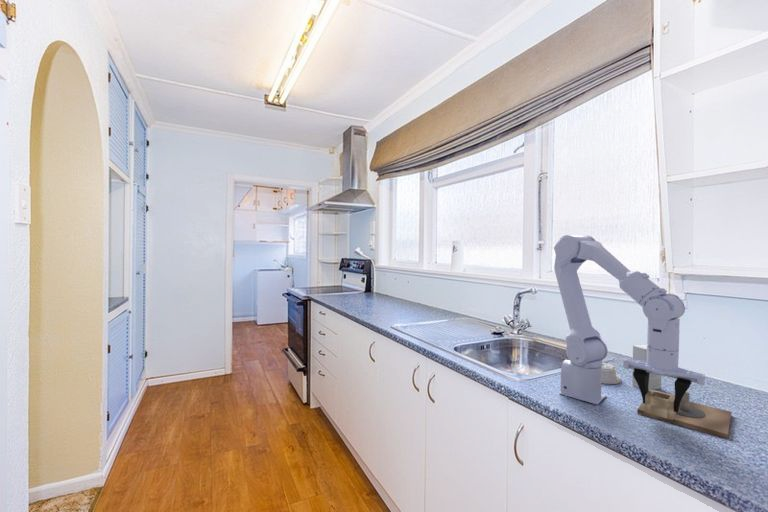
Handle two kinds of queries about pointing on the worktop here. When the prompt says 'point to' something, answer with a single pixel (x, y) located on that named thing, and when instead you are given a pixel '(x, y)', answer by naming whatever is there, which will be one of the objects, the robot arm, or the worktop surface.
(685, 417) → the post board
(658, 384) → the skincare box
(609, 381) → the mechanical component
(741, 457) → the worktop surface
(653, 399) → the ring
